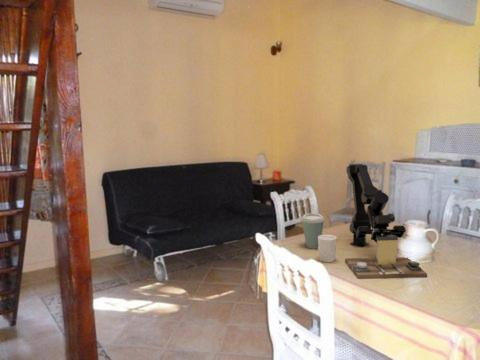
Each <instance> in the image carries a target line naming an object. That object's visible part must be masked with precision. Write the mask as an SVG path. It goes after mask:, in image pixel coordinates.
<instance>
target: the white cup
mask: <svg viewBox="0 0 480 360" xmlns="http://www.w3.org/2000/svg"><path fill="white" fill-rule="evenodd" d="M337 243H338V236H336V235H332V234H322V235H319V236H318V248H317V249H318V250H317V251H318V259H319V261H321V262H323V263H333V262H335V261H336V254H337Z"/></svg>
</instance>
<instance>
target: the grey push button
mask: <svg viewBox="0 0 480 360" xmlns="http://www.w3.org/2000/svg"><path fill="white" fill-rule="evenodd" d="M357 267H358V268H361V269H365V268H367V263H365V262H357Z"/></svg>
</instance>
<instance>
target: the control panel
mask: <svg viewBox="0 0 480 360" xmlns="http://www.w3.org/2000/svg"><path fill="white" fill-rule="evenodd" d="M405 257H406V256H404V257H403V256H399V257H397V256H396V264H392V265H393V266H394V269H382V268H381V267H380V266H379V265H378V264H377V263H376V257H355V258H354V257H353V258H352V257H350V258H344V263H345V264H346V265H347V267H348V268H349V269H350V270H351V272H352V273H353V274H354V276H355V277H356V278H357V279H362V280H363V279H394V278H395V279H397V278H398V279H399V278H428V272H426V270H424V269H422V267H420V265H419V266H411V265H409V264H408V262H413V261H412V260H411V259H410V258H409V257H407V258H405ZM408 258H409V259H408ZM357 262H365V263H367V268H365V269H361V268H358V267H357Z"/></svg>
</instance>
